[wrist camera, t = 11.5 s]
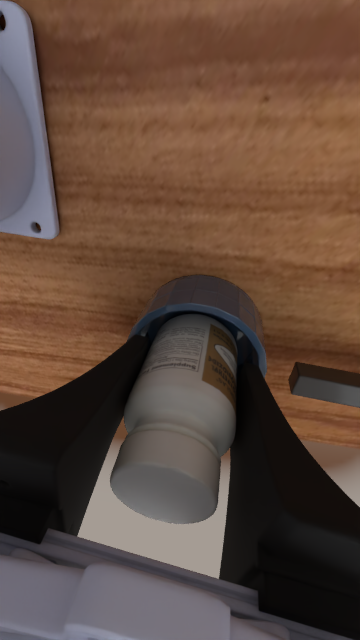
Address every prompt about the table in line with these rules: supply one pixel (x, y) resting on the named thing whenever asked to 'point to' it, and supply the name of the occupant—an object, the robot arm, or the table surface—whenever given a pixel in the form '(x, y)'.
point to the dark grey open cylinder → (207, 314)
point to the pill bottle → (179, 422)
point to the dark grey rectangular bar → (325, 384)
